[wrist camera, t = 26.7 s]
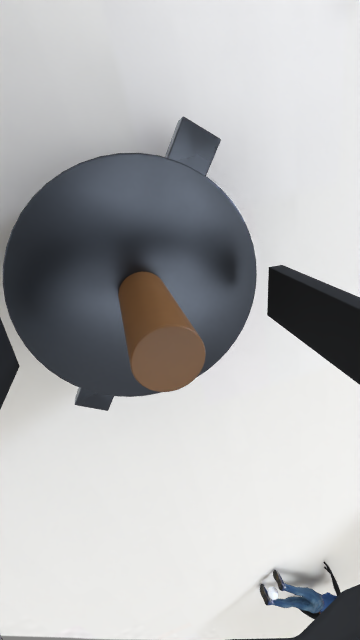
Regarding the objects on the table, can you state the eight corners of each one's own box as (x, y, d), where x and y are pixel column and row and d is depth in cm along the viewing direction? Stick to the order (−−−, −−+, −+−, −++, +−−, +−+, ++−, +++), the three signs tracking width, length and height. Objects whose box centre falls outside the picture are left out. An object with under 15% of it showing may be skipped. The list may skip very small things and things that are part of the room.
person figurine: (242, 586, 52) (318, 605, 57) (251, 619, 48) (332, 636, 53) (279, 545, 49) (354, 569, 54) (292, 577, 45) (372, 599, 50)
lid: (-17, 359, 18) (-106, 489, 10) (49, 95, 14) (-15, -24, 6) (193, 403, 23) (240, 510, 15) (286, 222, 19) (413, 246, 11)
